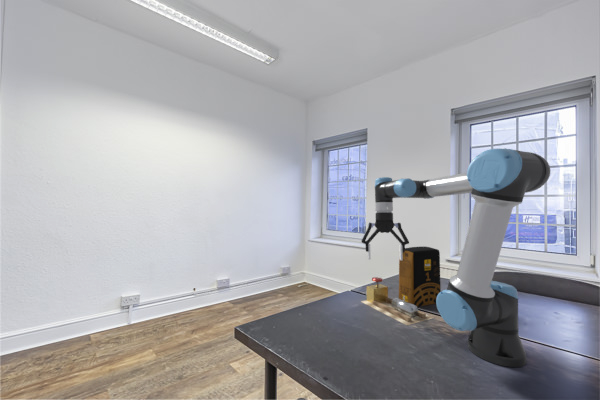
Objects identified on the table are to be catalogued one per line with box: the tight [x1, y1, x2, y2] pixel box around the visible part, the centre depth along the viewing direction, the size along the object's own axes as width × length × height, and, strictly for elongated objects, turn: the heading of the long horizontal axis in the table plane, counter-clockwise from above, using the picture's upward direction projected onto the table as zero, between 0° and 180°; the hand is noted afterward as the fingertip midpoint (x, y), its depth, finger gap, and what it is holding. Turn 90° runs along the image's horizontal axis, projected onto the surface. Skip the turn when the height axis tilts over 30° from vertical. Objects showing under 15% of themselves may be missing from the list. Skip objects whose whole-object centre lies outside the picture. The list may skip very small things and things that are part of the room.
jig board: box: [360, 297, 435, 326], centre depth 115 cm, size 28×16×3 cm, turn 26°
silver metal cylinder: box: [391, 297, 419, 317], centre depth 111 cm, size 10×5×5 cm, turn 26°
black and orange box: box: [398, 246, 442, 307], centre depth 125 cm, size 11×19×28 cm, turn 112°
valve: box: [365, 276, 389, 303], centre depth 126 cm, size 8×9×11 cm
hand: (385, 259), depth 114 cm, fingers open, 13 cm apart
